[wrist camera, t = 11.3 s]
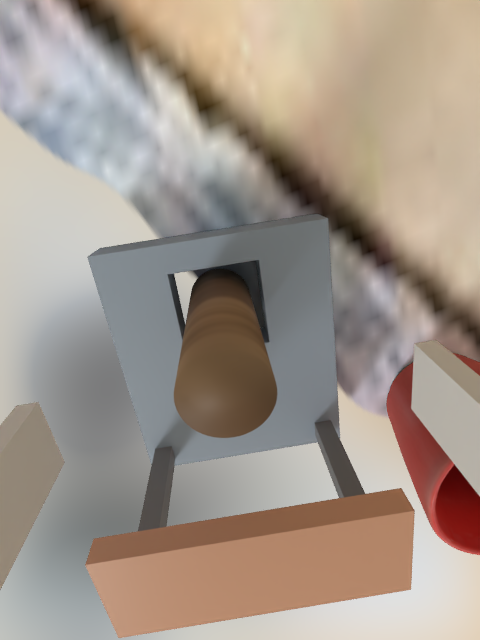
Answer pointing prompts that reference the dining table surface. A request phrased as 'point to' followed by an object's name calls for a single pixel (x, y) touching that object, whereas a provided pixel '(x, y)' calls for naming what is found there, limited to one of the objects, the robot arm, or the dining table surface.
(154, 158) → the dining table surface
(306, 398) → the socket board
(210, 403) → the dowel
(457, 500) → the flower pot
